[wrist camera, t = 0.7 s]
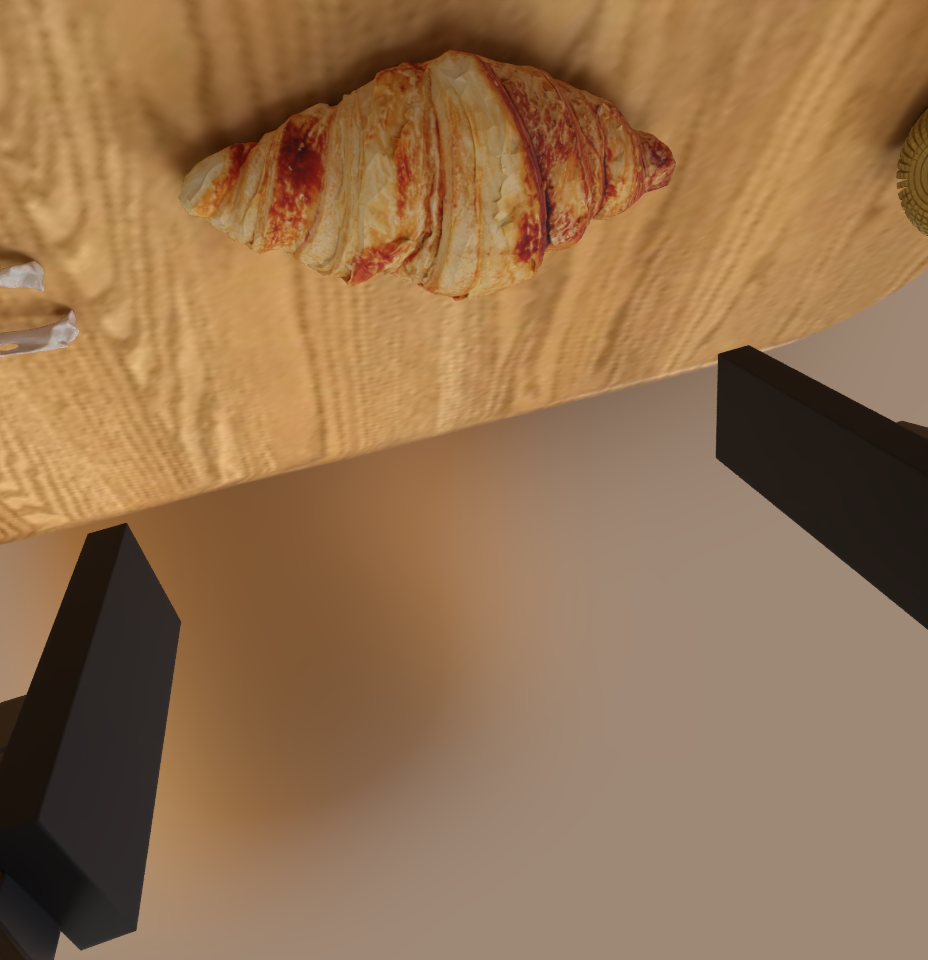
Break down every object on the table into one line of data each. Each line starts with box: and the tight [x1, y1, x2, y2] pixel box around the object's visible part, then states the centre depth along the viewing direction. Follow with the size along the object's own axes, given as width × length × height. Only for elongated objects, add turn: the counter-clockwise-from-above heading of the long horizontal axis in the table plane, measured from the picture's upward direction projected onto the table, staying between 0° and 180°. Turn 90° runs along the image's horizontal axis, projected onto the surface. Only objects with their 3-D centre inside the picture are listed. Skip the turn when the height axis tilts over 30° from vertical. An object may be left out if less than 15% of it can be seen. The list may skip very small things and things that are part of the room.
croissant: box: [178, 50, 676, 301], centre depth 28 cm, size 21×10×8 cm, turn 83°
